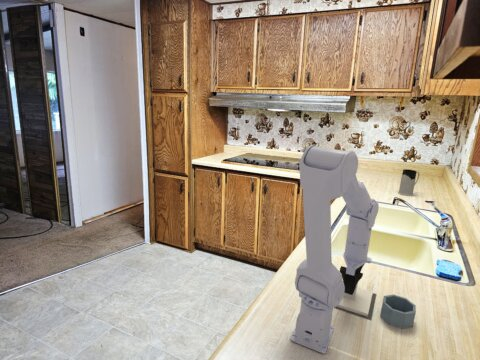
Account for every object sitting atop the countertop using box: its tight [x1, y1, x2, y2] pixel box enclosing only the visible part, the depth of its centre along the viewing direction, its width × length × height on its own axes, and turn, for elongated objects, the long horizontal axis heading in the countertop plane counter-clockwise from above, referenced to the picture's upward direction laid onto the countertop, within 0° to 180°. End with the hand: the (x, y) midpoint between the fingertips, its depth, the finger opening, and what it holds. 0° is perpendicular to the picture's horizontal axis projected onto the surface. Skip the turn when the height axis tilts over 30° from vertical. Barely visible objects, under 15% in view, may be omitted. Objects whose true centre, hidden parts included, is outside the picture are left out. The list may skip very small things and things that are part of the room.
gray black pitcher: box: [397, 168, 420, 197], centre depth 197 cm, size 9×14×15 cm, turn 117°
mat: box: [334, 292, 377, 321], centre depth 88 cm, size 13×13×1 cm
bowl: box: [379, 294, 417, 330], centre depth 80 cm, size 7×7×4 cm
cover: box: [337, 282, 374, 317], centre depth 87 cm, size 11×11×5 cm
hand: (351, 286), depth 87 cm, fingers open, 7 cm apart
